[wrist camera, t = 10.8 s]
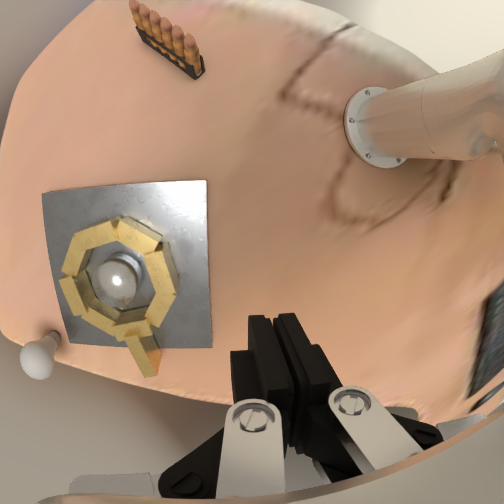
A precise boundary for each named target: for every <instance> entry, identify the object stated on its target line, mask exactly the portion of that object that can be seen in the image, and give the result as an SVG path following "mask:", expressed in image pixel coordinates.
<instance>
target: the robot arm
mask: <svg viewBox="0 0 504 504" xmlns="http://www.w3.org/2000/svg"><path fill="white" fill-rule="evenodd" d="M365 93H366V94H365ZM349 120H350V122H349ZM344 126H345V132H346V135H347V139H348V141H349V143H350V145H351V147H352V148H353V150H354V151H355V153H356V154H357V155H358V156H359V157H360V158H361V159H362V160H364V161H365V162H366V163H368V164H370V165H372V166H375V167H379V168H393V167H396V166H399V165H400V164H402V163H403V162H405V161H406V160H407V158H426V159H447V160H462V161H469V160H474V159H477V158H479V157H481V156H482V155H484V154H485V153H486V152H487V151H488V150H489V149H490V148H491V147H492V145H493V144H494V142H495V141H496V142H497V144H498V147H499V150H500V153H501V156H502V160H503V162H504V49H503V50H500V51H498V52H496V53H494V54H492V55H490V56H487V57H485V58H483V59H481V60H479V61H476V62H474V63H472V64H469V65H467V66H464V67H461V68H458V69H454V70H451V71H449V72H445V73H442V74H438V75H435V76H432V77H428V78H425V79H422V80H419V81H415V82H412V83H409V84H406V85H403V86H400V87H398V88H395V89H392V90H388V89H385V88H383V87H376V86H375V87H367V88H364V89H362V90H360V91H358V92H357V93H356V94H354V95H353V96H352V97H351V99H350V100H349V102H348V104H347V106H346V109H345V114H344ZM366 155H367V157H366ZM230 361H231V380H232V391H233V400H234V405H232V407H231V408H230V409H229V410H228V412H227V415H226V421H225V427H224V428H222V429H221V430H220V431H219V432H217V433H216V434H215V435H214V436H212V437H211V438H210V439H208V440H207V441H206V442H204V443H203V444H202V445H201V446H199V447H198V448H196V449H195V450H194V451H192V452H191V453H189V454H188V455H187V456H185V457H184V458H182V459H181V460H180V461H178V462H177V463H175V464H174V465H172V466H171V467H169V468H168V469H167V470H166V471H165V472H163V473H162V474H158V475H150V473H149V472H148V473H136V474H118V475H82V476H79V477H77V478H76V479H74V480H73V481H72V483H71V484H70V487H69V494H64V495H57V496H52V497H48V498H45V499H43V500H40V501H38V502H37V503H36V504H504V408H503V409H501V410H499V411H497V412H495V413H493V414H492V415H490V416H486V415H483V414H474V415H471V416H467V417H464V418H460V419H456V420H452V421H448V422H443V423H439V424H437V425H436V426H435V427H434V426H432V425H430V424H427V423H423V422H419V421H415V420H412V419H408V418H405V417H401V416H398V415H395V414H391V413H389V412H388V411H387V410H386V409H385V408H384V407H383V405H382V404H381V403H380V402H379V401H378V400H377V399H376V398H375V397H374V396H373V394H371V393H370V392H369V391H368V390H366V389H363V388H361V387H357V386H345V387H343V385H342V384H341V382H340V380H339V378H338V377H337V375H336V373H335V371H334V370H333V368H332V366H331V364H330V363H329V361H328V359H327V357H326V356H325V354H324V352H323V350H322V349H321V347H320V346H319V345H318V344H313V345H311V343H310V341H309V339H308V338H307V336H306V334H305V332H304V330H303V328H302V326H301V324H300V323H299V321H298V319H297V317H296V315H295V314H294V313H284V314H279V315H278V318H274V319H273V326H272V323H271V320H270V318H265V317H264V315H250V316H248V350H242V351H230ZM287 444H289V447H295V450H296V453H297V454H303V453H304V454H305V455H306V456H309V457H311V458H312V463H313V466H314V467H315V469H316V471H317V473H318V474H319V476H320V478H321V480H322V481H323V483H324V485H322V486H319V487H314V488H309V489H304V490H298V491H293V492H287V493H286V490H285V472H284V459H285V455H286V450H287Z"/></svg>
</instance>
